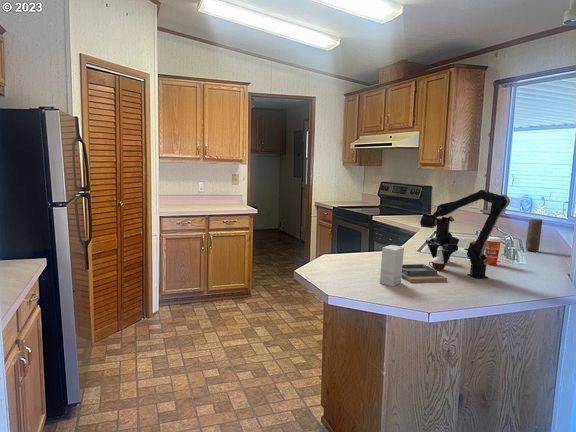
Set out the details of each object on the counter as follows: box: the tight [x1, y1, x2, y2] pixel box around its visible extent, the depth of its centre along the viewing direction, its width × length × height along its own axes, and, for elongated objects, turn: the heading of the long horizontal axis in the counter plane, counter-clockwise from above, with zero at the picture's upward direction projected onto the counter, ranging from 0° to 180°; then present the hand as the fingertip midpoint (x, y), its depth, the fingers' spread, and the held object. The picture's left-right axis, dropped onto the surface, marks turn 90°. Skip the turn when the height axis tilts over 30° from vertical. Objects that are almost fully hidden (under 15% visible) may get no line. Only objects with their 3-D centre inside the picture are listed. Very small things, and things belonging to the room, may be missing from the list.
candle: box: [524, 218, 543, 252], centre depth 268 cm, size 8×7×20 cm
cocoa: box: [428, 256, 447, 271], centre depth 211 cm, size 10×6×12 cm, turn 54°
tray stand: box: [401, 263, 448, 283], centre depth 198 cm, size 22×18×4 cm
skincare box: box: [379, 244, 405, 287], centre depth 182 cm, size 8×7×16 cm
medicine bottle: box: [436, 246, 451, 265], centre depth 228 cm, size 7×7×12 cm
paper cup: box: [484, 236, 502, 266], centre depth 227 cm, size 8×8×14 cm
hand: (439, 261), depth 211 cm, fingers open, 9 cm apart
